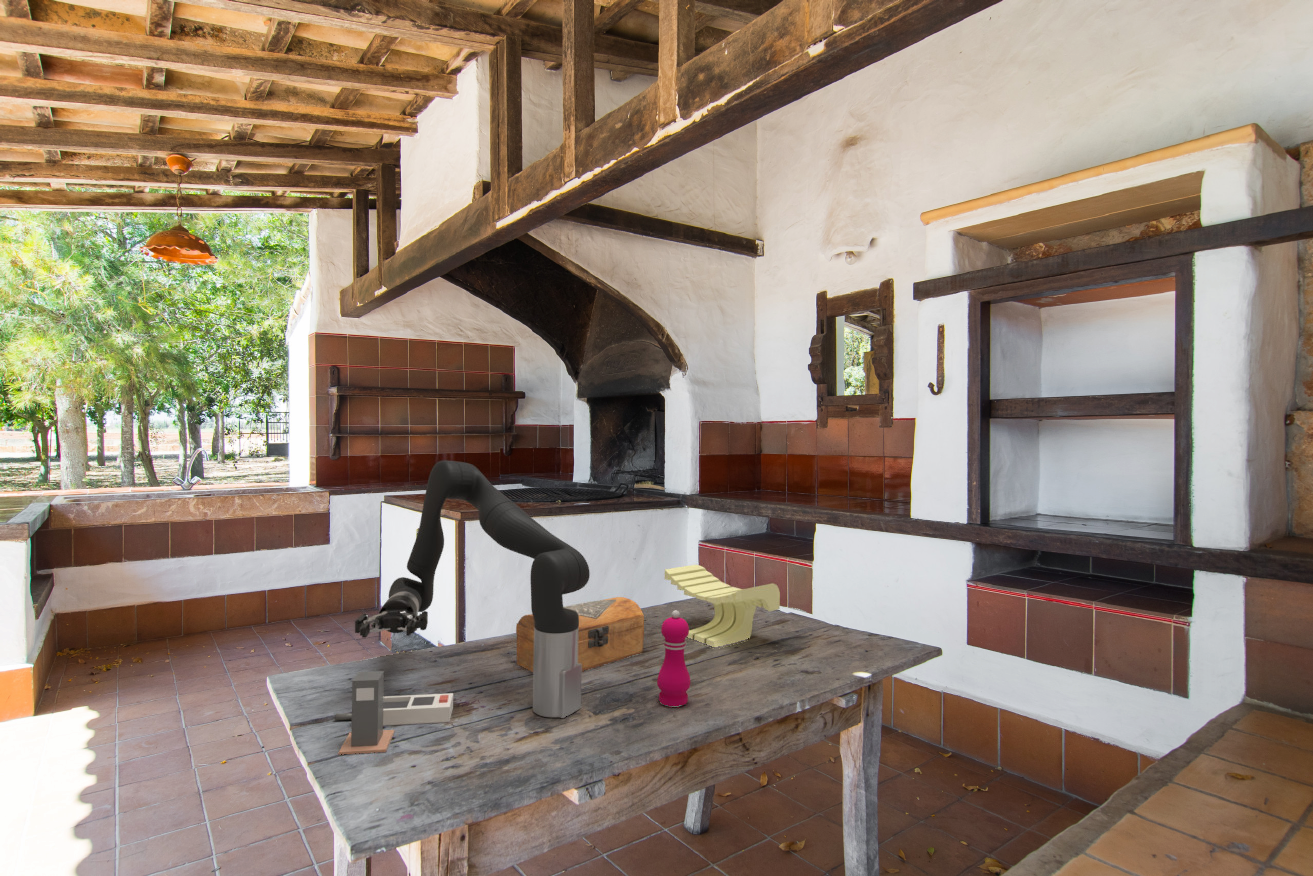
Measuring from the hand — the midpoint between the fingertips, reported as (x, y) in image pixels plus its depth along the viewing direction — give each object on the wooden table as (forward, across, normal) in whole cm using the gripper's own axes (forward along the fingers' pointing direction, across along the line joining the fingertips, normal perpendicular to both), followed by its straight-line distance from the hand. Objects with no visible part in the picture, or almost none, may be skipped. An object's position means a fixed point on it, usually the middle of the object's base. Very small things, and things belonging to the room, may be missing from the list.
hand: (386, 631), depth 140 cm
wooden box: (-27, +42, +17) cm, 53 cm away
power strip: (+3, +2, +17) cm, 17 cm away
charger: (+14, -1, +16) cm, 21 cm away
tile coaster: (+14, -1, +17) cm, 21 cm away
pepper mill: (+3, +60, +18) cm, 62 cm away
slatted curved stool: (-40, +82, +17) cm, 93 cm away
